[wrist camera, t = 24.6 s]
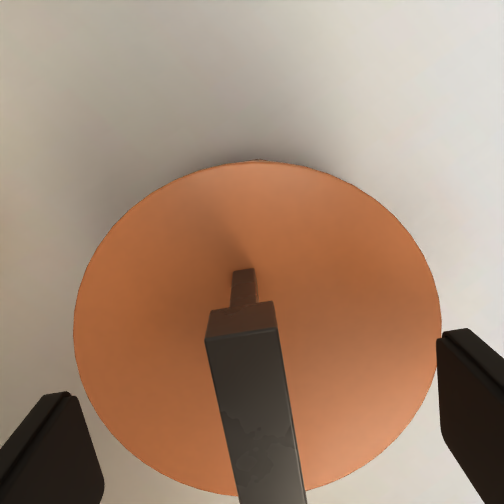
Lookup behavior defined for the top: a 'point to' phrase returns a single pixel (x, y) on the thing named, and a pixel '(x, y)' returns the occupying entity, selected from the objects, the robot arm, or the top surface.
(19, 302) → the top surface
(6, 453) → the robot arm
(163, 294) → the lid
